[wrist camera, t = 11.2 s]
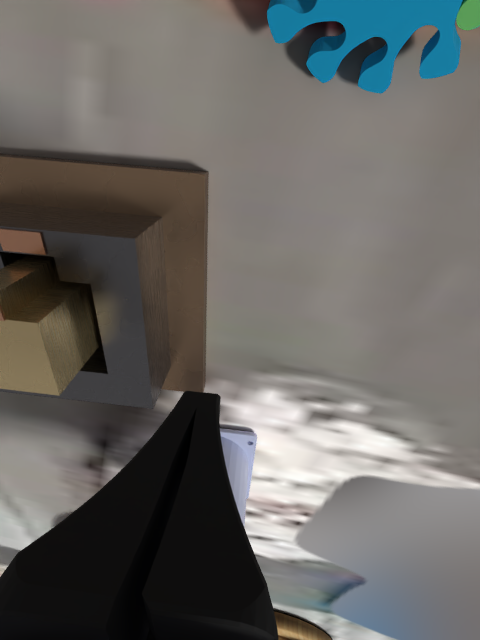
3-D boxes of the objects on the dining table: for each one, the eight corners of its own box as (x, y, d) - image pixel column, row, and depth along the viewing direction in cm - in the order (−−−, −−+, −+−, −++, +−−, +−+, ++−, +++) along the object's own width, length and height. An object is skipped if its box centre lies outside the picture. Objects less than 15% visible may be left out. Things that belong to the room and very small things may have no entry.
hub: (205, 384, 24) (190, 439, 20) (17, 363, 25) (-37, 412, 21) (208, 171, 17) (186, 186, 12) (-65, 148, 17) (-178, 155, 13)
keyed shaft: (120, 319, 21) (58, 397, 15) (61, 312, 21) (-25, 387, 15) (109, 241, 18) (27, 298, 12) (41, 234, 18) (-74, 286, 12)
